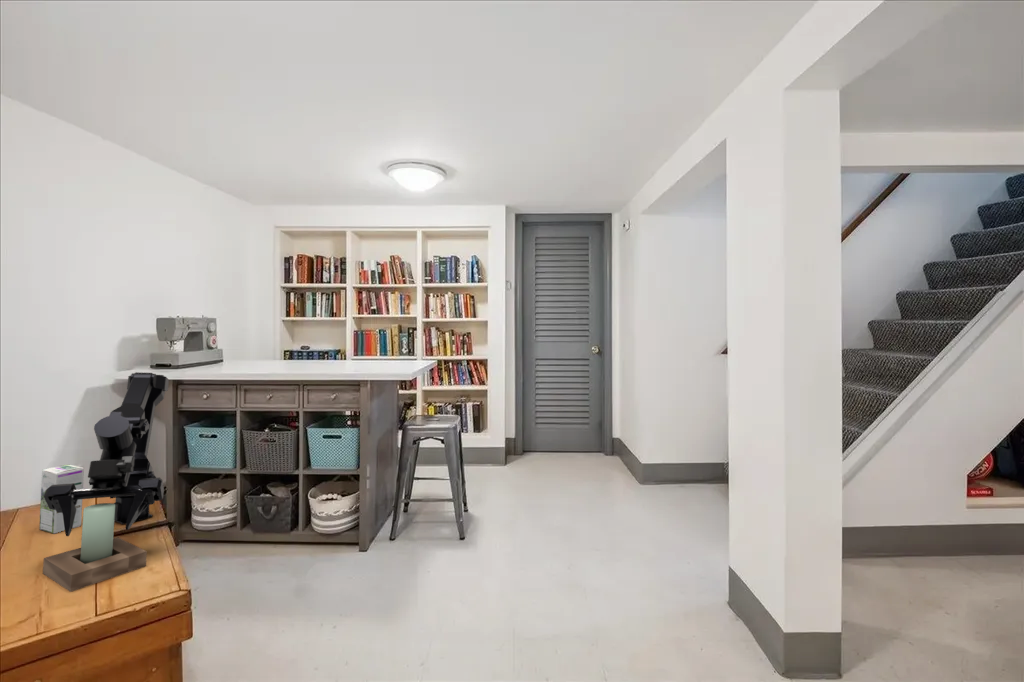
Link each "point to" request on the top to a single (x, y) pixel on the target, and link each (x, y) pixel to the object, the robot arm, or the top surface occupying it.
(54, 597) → the top surface
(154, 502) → the robot arm
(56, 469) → the syrup box
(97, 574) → the pocket block
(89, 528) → the peg
